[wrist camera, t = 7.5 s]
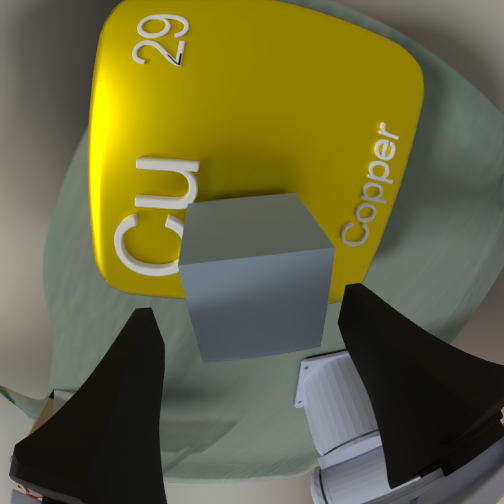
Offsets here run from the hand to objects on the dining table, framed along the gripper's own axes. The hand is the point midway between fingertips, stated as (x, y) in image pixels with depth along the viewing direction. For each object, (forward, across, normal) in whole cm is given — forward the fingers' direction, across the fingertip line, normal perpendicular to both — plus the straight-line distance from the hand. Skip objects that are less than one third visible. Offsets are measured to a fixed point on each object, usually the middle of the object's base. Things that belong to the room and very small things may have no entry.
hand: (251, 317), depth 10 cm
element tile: (+9, -1, -4) cm, 10 cm away
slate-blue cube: (+4, 0, -1) cm, 4 cm away
